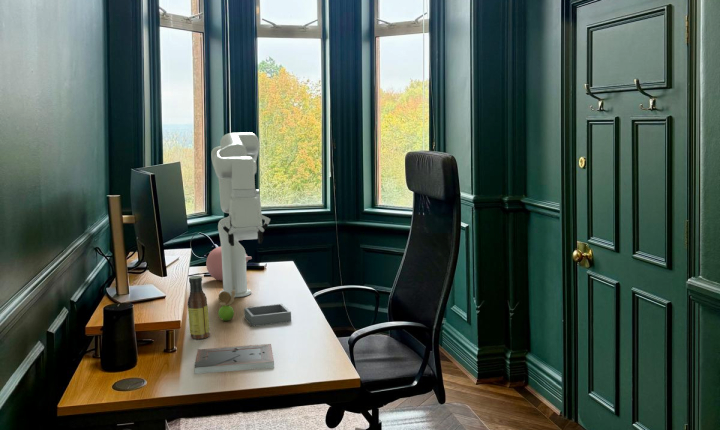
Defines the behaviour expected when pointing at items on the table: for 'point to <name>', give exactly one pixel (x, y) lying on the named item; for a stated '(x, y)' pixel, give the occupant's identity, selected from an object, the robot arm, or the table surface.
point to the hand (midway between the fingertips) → (246, 244)
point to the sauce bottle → (198, 309)
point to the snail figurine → (226, 305)
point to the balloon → (217, 263)
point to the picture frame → (234, 358)
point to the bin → (267, 314)
